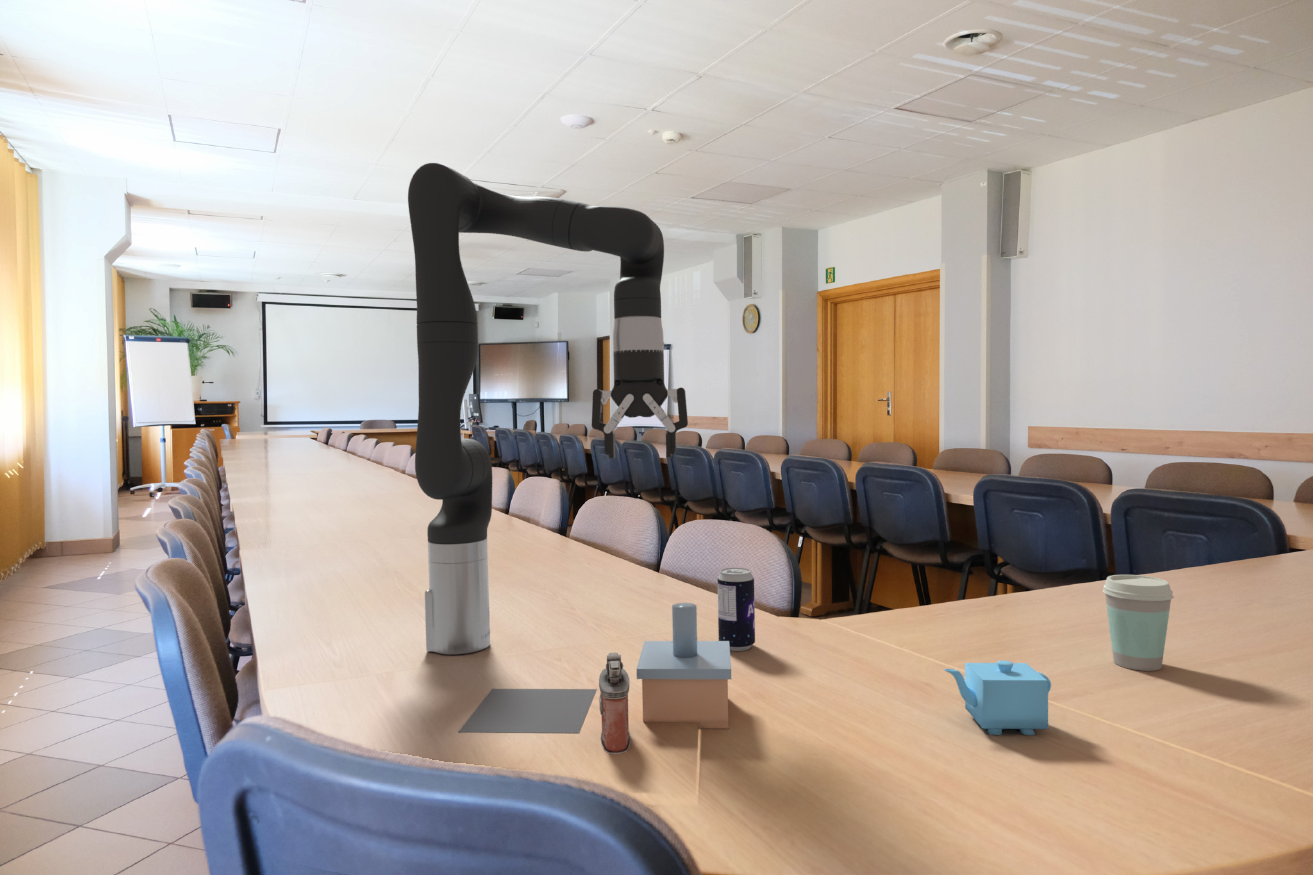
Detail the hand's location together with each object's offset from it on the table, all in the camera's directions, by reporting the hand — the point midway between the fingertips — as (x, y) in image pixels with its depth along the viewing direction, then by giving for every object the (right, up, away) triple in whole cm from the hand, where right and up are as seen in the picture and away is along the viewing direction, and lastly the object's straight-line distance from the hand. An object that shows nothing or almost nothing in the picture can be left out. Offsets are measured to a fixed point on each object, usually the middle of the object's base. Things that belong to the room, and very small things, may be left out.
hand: (640, 458), depth 118 cm
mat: (-13, -31, -21) cm, 40 cm away
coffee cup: (+70, -29, -7) cm, 76 cm away
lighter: (-2, -32, -30) cm, 43 cm away
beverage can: (+15, -30, +5) cm, 34 cm away
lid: (+6, -25, -21) cm, 33 cm away
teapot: (+42, -31, -27) cm, 58 cm away
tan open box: (+6, -31, -21) cm, 38 cm away
